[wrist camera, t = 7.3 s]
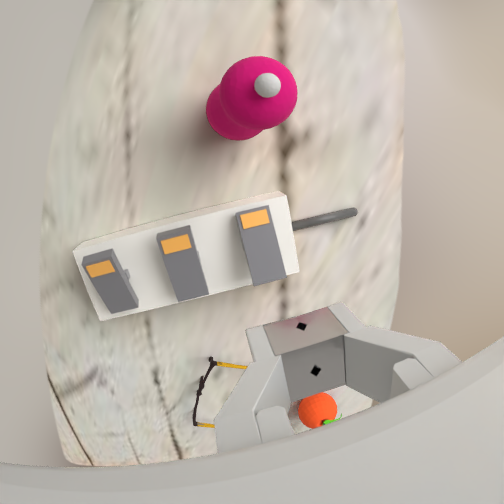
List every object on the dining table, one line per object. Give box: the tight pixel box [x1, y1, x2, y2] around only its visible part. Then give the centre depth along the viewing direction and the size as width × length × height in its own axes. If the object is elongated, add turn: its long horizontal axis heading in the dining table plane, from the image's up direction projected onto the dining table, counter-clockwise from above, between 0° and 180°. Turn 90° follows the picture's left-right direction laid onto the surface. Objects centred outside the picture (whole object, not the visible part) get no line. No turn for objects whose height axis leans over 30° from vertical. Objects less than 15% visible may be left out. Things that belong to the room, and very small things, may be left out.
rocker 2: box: [156, 225, 209, 302], centre depth 36 cm, size 8×4×2 cm, turn 12°
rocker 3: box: [235, 205, 287, 286], centre depth 37 cm, size 8×4×2 cm, turn 11°
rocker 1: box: [81, 248, 139, 314], centre depth 35 cm, size 8×4×2 cm, turn 13°
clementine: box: [298, 392, 342, 429], centre depth 52 cm, size 8×7×7 cm
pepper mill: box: [206, 56, 297, 140], centre depth 28 cm, size 7×7×20 cm
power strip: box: [72, 191, 358, 321], centre depth 40 cm, size 10×38×5 cm, turn 102°
